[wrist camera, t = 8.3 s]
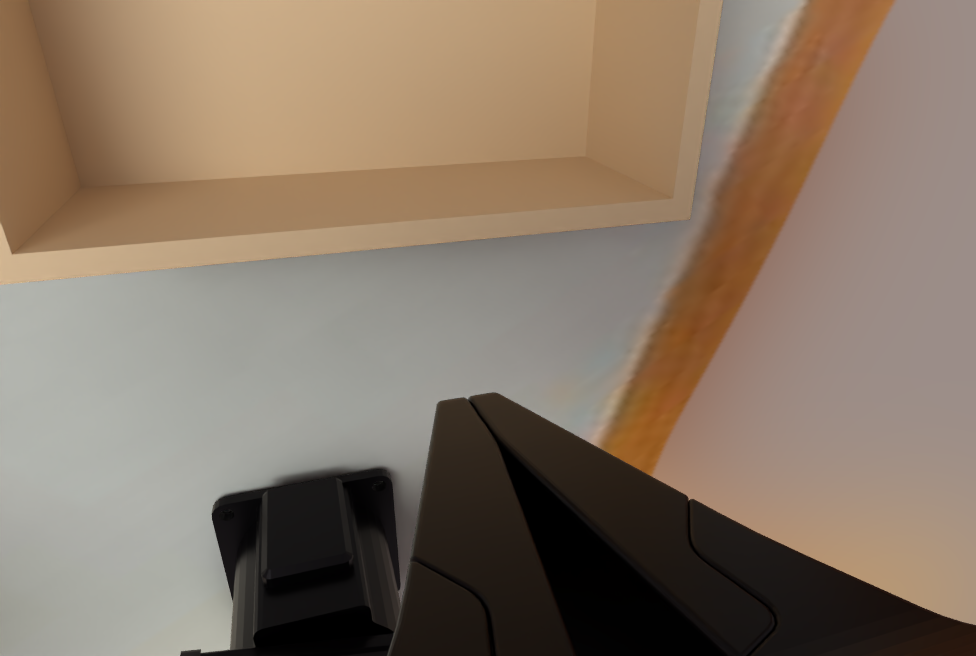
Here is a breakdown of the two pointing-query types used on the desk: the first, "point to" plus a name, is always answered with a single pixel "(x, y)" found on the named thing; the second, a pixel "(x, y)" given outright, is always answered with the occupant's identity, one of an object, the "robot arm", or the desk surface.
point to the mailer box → (337, 125)
